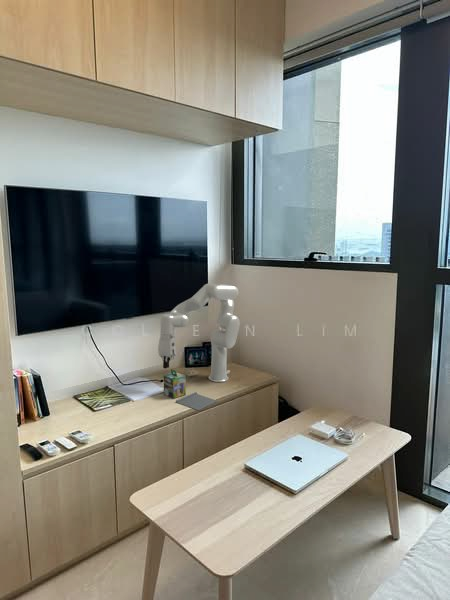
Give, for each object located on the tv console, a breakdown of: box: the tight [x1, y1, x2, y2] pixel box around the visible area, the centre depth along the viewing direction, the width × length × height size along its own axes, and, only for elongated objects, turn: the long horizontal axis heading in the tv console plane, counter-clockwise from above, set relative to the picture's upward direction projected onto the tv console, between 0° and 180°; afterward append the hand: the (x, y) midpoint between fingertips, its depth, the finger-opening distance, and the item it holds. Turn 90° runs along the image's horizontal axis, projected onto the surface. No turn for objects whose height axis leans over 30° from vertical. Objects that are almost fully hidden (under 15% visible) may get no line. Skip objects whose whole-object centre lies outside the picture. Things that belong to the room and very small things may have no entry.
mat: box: [175, 391, 218, 412], centre depth 217 cm, size 16×16×1 cm
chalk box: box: [163, 368, 187, 400], centre depth 225 cm, size 9×9×15 cm
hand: (166, 367), depth 228 cm, fingers closed
